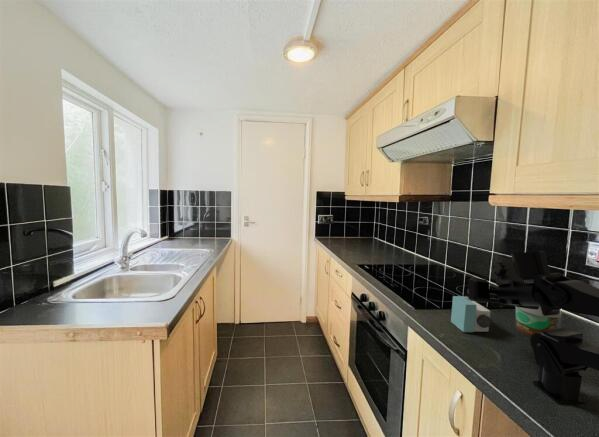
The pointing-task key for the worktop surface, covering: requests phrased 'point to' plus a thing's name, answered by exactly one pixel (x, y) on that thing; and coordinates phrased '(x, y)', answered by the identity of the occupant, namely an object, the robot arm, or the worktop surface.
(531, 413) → the worktop surface
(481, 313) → the camera housing
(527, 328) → the food container
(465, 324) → the teal block
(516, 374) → the worktop surface
